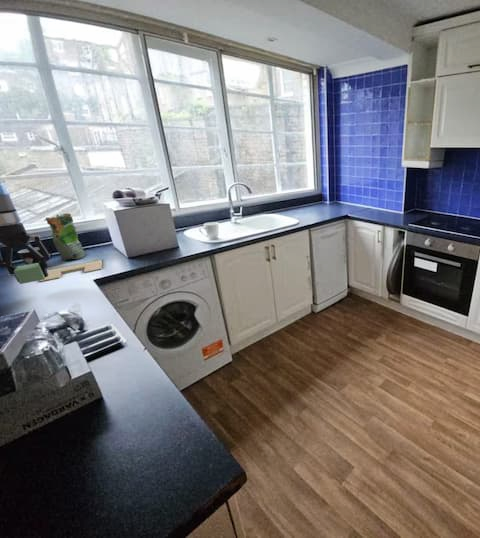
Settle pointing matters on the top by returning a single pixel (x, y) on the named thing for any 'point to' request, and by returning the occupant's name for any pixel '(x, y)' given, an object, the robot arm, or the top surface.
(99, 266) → the beige flat board
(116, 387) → the top surface
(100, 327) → the top surface
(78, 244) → the pouch
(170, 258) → the top surface
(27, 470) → the top surface
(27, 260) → the coffee mug
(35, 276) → the green block
